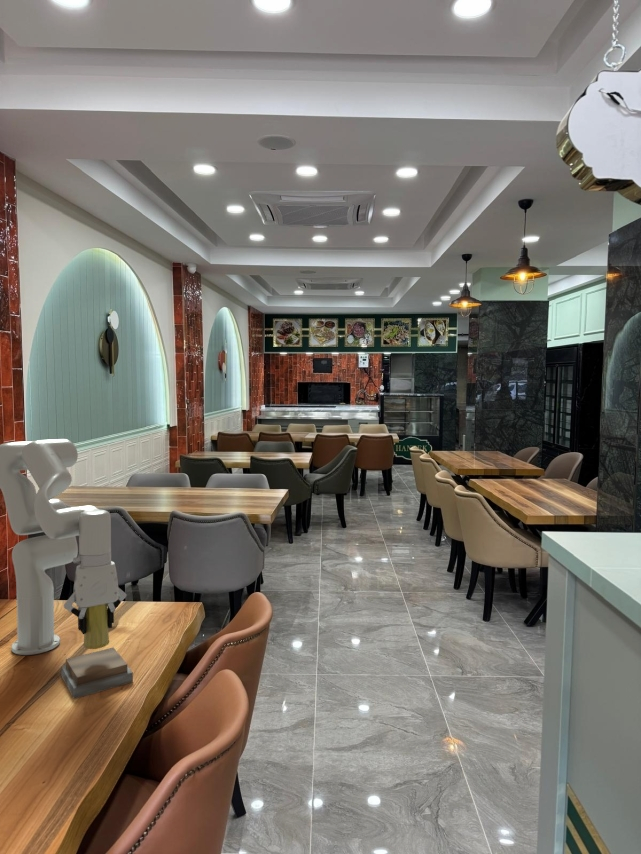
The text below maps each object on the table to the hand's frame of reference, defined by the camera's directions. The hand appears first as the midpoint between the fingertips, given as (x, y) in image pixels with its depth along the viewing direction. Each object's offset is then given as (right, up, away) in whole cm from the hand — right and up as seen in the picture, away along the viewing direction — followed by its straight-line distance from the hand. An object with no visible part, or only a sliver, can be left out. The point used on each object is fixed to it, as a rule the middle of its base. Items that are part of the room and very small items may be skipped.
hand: (96, 628), depth 144 cm
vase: (0, -4, 0) cm, 4 cm away
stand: (0, -13, +1) cm, 13 cm away
